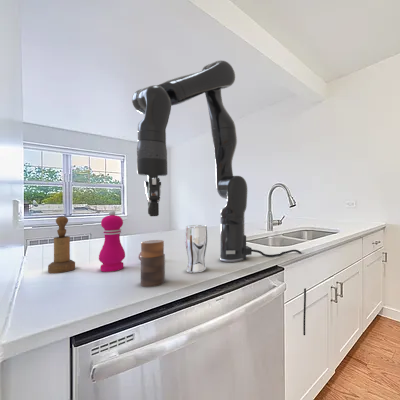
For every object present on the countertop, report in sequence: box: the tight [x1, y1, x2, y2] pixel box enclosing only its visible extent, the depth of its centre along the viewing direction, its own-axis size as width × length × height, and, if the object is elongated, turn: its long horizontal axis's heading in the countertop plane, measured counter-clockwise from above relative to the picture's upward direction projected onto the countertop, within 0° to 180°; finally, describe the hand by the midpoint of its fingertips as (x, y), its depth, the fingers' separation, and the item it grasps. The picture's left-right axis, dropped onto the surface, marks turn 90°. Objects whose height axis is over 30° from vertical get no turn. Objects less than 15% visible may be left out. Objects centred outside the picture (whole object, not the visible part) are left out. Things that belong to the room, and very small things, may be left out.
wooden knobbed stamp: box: [47, 215, 76, 274], centre depth 84 cm, size 7×6×18 cm
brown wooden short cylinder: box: [140, 239, 165, 258], centre depth 72 cm, size 6×6×4 cm
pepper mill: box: [98, 210, 126, 273], centre depth 86 cm, size 7×7×20 cm
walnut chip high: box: [140, 253, 166, 273], centre depth 73 cm, size 6×6×4 cm
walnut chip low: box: [140, 268, 166, 288], centre depth 73 cm, size 6×6×4 cm
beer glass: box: [184, 224, 208, 274], centre depth 85 cm, size 7×7×15 cm
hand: (153, 215), depth 73 cm, fingers open, 8 cm apart
